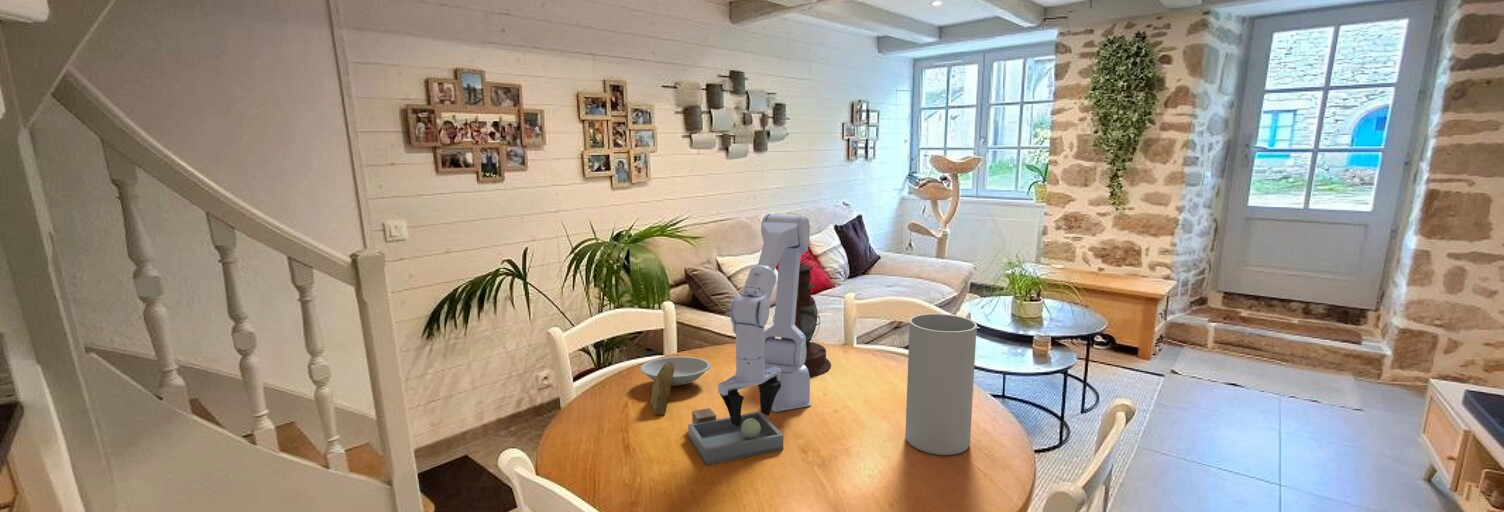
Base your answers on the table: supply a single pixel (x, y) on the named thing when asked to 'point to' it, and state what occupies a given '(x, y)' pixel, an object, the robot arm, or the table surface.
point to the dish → (677, 368)
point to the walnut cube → (703, 415)
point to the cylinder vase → (940, 383)
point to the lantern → (809, 323)
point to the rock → (662, 389)
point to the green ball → (750, 428)
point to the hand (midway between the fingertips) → (751, 419)
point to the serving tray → (733, 439)
